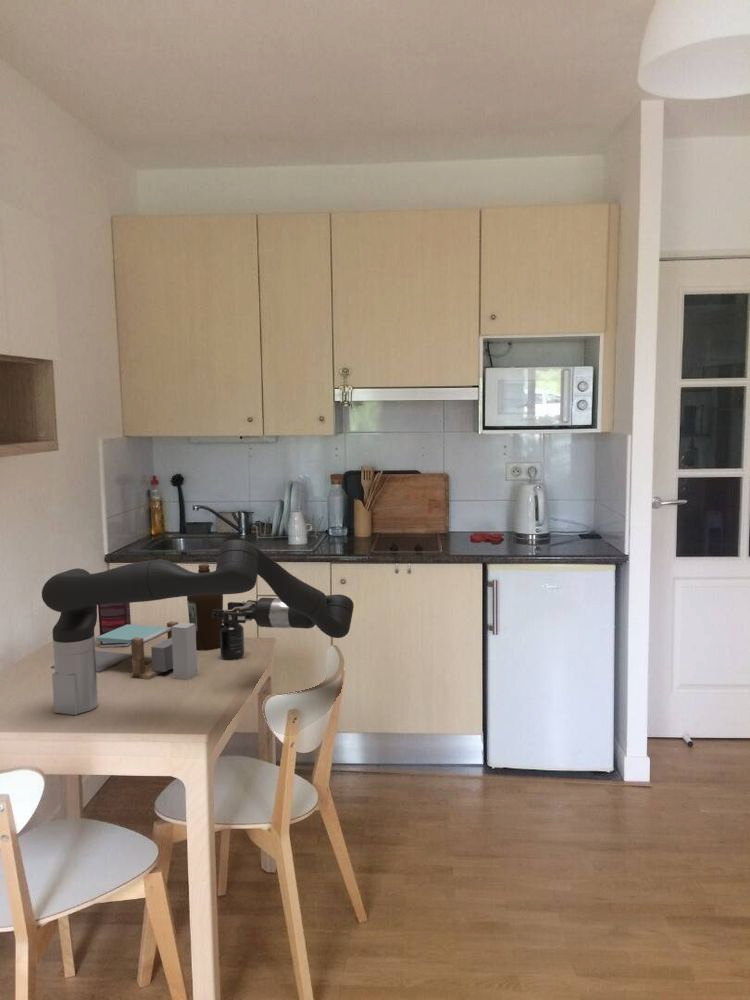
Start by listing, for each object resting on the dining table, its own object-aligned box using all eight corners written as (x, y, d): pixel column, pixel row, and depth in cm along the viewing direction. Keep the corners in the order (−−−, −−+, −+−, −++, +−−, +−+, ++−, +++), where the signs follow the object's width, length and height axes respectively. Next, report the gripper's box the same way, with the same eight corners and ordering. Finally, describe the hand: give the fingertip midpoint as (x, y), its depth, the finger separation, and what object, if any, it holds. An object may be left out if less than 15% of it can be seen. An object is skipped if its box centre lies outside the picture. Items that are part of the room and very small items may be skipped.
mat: (99, 672, 211) (99, 671, 211) (51, 667, 216) (51, 666, 216) (134, 655, 226) (134, 654, 226) (88, 651, 231) (88, 650, 231)
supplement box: (132, 642, 240) (129, 592, 239) (128, 646, 235) (125, 595, 234) (104, 643, 240) (101, 593, 238) (99, 647, 235) (96, 596, 233)
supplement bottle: (216, 656, 224) (214, 616, 222) (237, 651, 228) (235, 612, 227) (228, 661, 218) (226, 620, 217) (249, 656, 223) (247, 616, 222)
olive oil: (219, 639, 242) (215, 560, 239) (229, 647, 233) (226, 565, 230) (185, 644, 237) (181, 564, 234) (194, 653, 228) (190, 569, 225)
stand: (188, 658, 223) (186, 622, 222) (149, 679, 204) (148, 640, 203) (170, 656, 224) (168, 621, 223) (130, 677, 206) (128, 639, 205)
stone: (188, 679, 204) (186, 628, 202) (173, 678, 205) (171, 626, 204) (197, 674, 208) (195, 623, 206) (182, 673, 209) (180, 622, 208)
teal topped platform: (191, 657, 219) (190, 628, 218) (164, 672, 206) (162, 642, 205) (128, 651, 226) (127, 624, 225) (97, 666, 212) (96, 636, 211)
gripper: (287, 592, 203) (232, 590, 208) (264, 604, 189) (205, 602, 194) (288, 620, 204) (233, 617, 208) (265, 634, 190) (207, 631, 195)
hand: (220, 610), depth 201 cm, fingers open, 8 cm apart
